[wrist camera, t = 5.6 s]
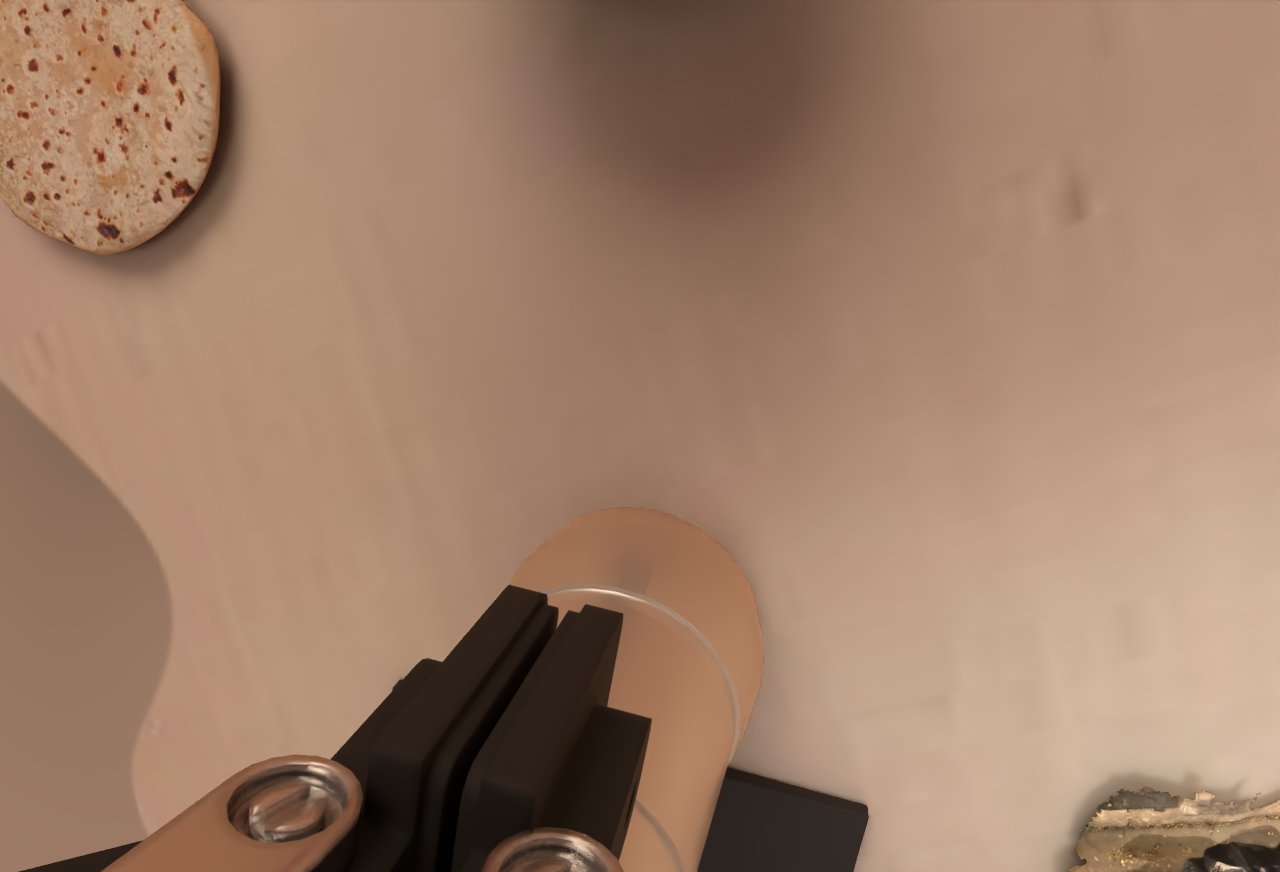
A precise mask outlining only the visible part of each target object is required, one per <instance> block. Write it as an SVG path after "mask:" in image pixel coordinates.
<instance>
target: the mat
mask: <svg viewBox="0 0 1280 872" xmlns="http://www.w3.org/2000/svg"><path fill="white" fill-rule="evenodd" d="M401 681H402V680H399V681H398V683H397V684H396V685H395V686H394V687H393V690H394V689H395V688H396V687H397V686H398V685H399V683H400V682H401ZM868 818H869V816H868V808H867V806H866V805H863V804H859V803H856V802H852V801H848V800H844V799H841V798H837V797H833V796H830V795H826V794H822V793H819V792H815V791H811V790H807V789H804V788H800V787H796V786H793V785H789V784H785V783H781V782H778V781H774V780H770V779H767V778H763V777H759V776H756V775H752V774H748V773H744V772H741V771H737V770H733V769H730V768H727V769H726V772H725V776H724V779H723V783H722V786H721V790H720V793H719V797H718V800H717V804H716V807H715V810H714V814H713V817H712V821H711V824H710V828H709V831H708V835H707V838H706V842H705V845H704V849H703V852H702V856H701V859H700V863H699V866H698V870H697V872H853V870H854V867H855V863H856V860H857V856H858V853H859V849H860V846H861V842H862V839H863V835H864V832H865V828H866V825H867V821H868Z"/></svg>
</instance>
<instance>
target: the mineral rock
mask: <svg viewBox="0 0 1280 872" xmlns="http://www.w3.org/2000/svg"><path fill="white" fill-rule="evenodd" d="M1201 791H1202V793H1195V792H1194V793H1195V794H1196V798H1195V800H1191V799H1186V798H1183V799H1181V797H1180V796H1177V797H1175V796H1174V797H1171V795H1170V794H1169V793H1168V792H1163V793H1160V791H1159V792H1157V793H1156V792H1155V791H1154V790H1153V789H1152V788H1149V787H1143V788H1142V789H1140V791H1139V792H1138V793H1136V794H1135V793H1134V792H1133V791H1132V792H1129V790H1125V791H1124V789H1120V791H1118V793H1119V795H1118V796H1116V798H1115V799H1114V798H1113V797H1112V796H1111V797H1110V799H1109V802H1104V803H1103V804H1101V805H1099V807H1097V810H1098V812H1095V813H1096V814H1097V816H1098V817H1092V819H1093V821H1092V822H1088V825H1085V826H1086V827H1087V828H1083V829H1084V830H1085V831H1082V833H1083V834H1082V833H1080V834H1081V839H1080V840H1077V841H1078V842H1079V844H1080V845H1079V846H1078V847H1077V848H1076V849H1075V850H1076V852H1077V854H1078V855H1079V856H1080V858H1081V859H1082V860H1083V859H1084V858H1085V859H1086V860H1087V861H1086V864H1085V865H1083V866H1080V867H1079V866H1078V865H1077V866H1075V867H1073V868H1069V869H1070V870H1071V871H1070V872H1280V799H1279V800H1278V801H1276V802H1274V803H1271V804H1269V805H1267V806H1265V805H1264V807H1263V808H1260V809H1259V808H1258V807H1257V808H1256V809H1254V810H1251V809H1250V808H1249V806H1248V805H1249V804H1251V802H1252V801H1253V800H1255V799H1257V797H1258V796H1259V795H1261V793H1258V794H1257V795H1256V796H1255V798H1253V799H1251V800H1245V802H1244V804H1243V805H1241V806H1239V805H1234V804H1233V803H1234V801H1235V800H1234V801H1232V802H1231V804H1230V805H1229V806H1226V805H1225V804H1224V803H1221V802H1215V803H1212V804H1211V802H1210V801H1211V799H1212V798H1214V797H1215V796H1214V795H1213V794H1211V793H1209V792H1206V791H1203V790H1201ZM1067 872H1069V871H1067Z"/></svg>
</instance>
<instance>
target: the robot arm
mask: <svg viewBox="0 0 1280 872" xmlns="http://www.w3.org/2000/svg"><path fill="white" fill-rule="evenodd" d="M558 615H559V609H558V607H555V606H551V605H548V596H547V594H545V593H541V592H537V591H533V590H529V589H525V588H521V587H517V586H513V585H508V586H507V587H506V588H505V589H504V590H503V592H502V593H501V594H500V595H499V596H498V597H497V599H496V600H495V601H494V602H493V603H492V605H491V606H490V607H489V608H488V609H487V610H486V612H485V613H484V614H483V615H482V616H481V617H480V619H479V620H478V621H477V622H476V623H475V625H474V626H473V627H472V628H471V629H470V630H469V632H468V633H467V634H466V635H465V636H464V637H463V639H462V640H461V641H460V642H459V643H458V644H457V646H456V647H455V648H454V649H453V650H452V652H451V653H450V654H449V655H448V656H447V657H446V659H445V660H444V661H443V662H440V661H436V660H432V659H429V658H428V659H423V660H421V661H420V662H419V663H418V664H417V665H416V666H415V667H414V668H413V669H412V670H411V671H410V672H409V674H408V675H407V676H406V677H405V678H404V679H403V680H402V681H401V682H400V683H399V685H398V686H397V687H396V688H395V689H394V690H393V691H392V692H391V693H390V695H389V696H388V697H387V698H386V699H385V700H384V701H383V702H382V703H381V704H380V706H379V707H378V708H377V709H376V710H375V711H374V712H373V713H372V714H371V715H370V717H369V718H368V719H367V720H366V721H365V722H364V723H363V724H362V725H361V726H360V728H359V729H358V730H357V731H356V732H355V733H354V734H353V735H352V736H351V738H350V739H349V740H348V741H347V742H346V743H345V744H344V745H343V746H342V747H341V749H340V750H339V751H338V752H337V753H336V754H335V755H334V756H333V757H332V758H331V760H329V759H326V758H322V757H319V756H307V755H290V756H283V757H275V758H271V759H268V760H265V761H262V762H259V763H256V764H252V765H250V766H249V767H247V768H245V769H243V770H242V771H240V772H238V773H236V774H234V775H233V776H231V777H230V778H229V779H227V780H226V781H224V782H223V783H222V784H220V785H219V786H218V787H216V788H215V789H213V790H212V791H211V792H209V793H208V794H207V795H205V796H204V797H203V798H201V799H200V800H198V801H197V802H196V803H194V804H193V805H192V806H190V807H189V808H187V809H186V810H185V811H183V812H182V813H181V814H179V815H178V816H176V817H175V818H174V819H172V820H171V821H170V822H168V823H167V824H165V825H164V826H163V827H161V828H160V829H159V830H157V831H156V832H154V833H153V834H152V835H150V836H149V837H148V838H146V839H145V840H143V841H139V842H135V843H131V844H127V845H123V846H119V847H115V848H111V849H107V850H104V851H99V852H96V853H91V854H87V855H84V856H79V857H75V858H72V859H67V860H63V861H59V862H55V863H52V864H48V865H43V866H40V867H36V868H32V869H28V870H24V871H20V872H624V871H623V869H622V867H621V865H620V863H619V859H620V856H621V852H622V849H623V845H624V842H625V838H626V835H627V831H628V828H629V824H630V820H631V816H632V812H633V808H634V804H635V800H636V796H637V792H638V787H639V783H640V778H641V774H642V769H643V764H644V760H645V755H646V750H647V745H648V740H649V735H650V730H651V724H652V718H648V717H644V716H641V715H637V714H633V713H629V712H626V711H622V710H618V709H615V708H611V707H607V705H608V699H609V694H610V689H611V683H612V678H613V673H614V668H615V662H616V657H617V652H618V646H619V641H620V636H621V631H622V625H623V613H620V612H616V611H612V610H608V609H604V608H600V607H596V606H592V605H588V604H585V605H584V607H583V608H582V610H581V612H580V613H578V612H574V611H570V610H568V612H567V613H566V614H565V616H564V618H563V619H562V621H561V622H560V624H559V626H558V627H557V622H558ZM556 628H557V629H556Z"/></svg>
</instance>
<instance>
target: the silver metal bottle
mask: <svg viewBox="0 0 1280 872" xmlns="http://www.w3.org/2000/svg"><path fill="white" fill-rule="evenodd" d="M509 585H513V586H517V587H521V588H525V589H529V590H533V591H537V592H541V593H545V594H547V596H548V605H551V606H555V607H558V609H559V615H558V622H557V627H558V626H559V624H560V622H561V621H562V619H563V618H564V616H565V614H566V613H567V612H568V610H570V611H574V612H578V613H580V612H581V610H582V608H583V607H584V605H585V604H588V605H592V606H596V607H600V608H604V609H608V610H612V611H616V612H620V613H623V625H622V631H621V636H620V641H619V646H618V652H617V657H616V662H615V668H614V673H613V678H612V683H611V689H610V694H609V699H608V705H607V707H611V708H615V709H618V710H622V711H626V712H629V713H633V714H637V715H641V716H644V717H648V718H652V724H651V730H650V735H649V740H648V745H647V750H646V755H645V760H644V764H643V769H642V774H641V778H640V783H639V787H638V792H637V796H636V800H635V804H634V808H633V812H632V816H631V820H630V824H629V828H628V831H627V835H626V838H625V842H624V845H623V849H622V852H621V856H620V859H619V863H620V865H621V867H622V869H623V871H624V872H697V870H698V866H699V863H700V859H701V856H702V852H703V849H704V845H705V842H706V838H707V835H708V831H709V828H710V824H711V821H712V817H713V814H714V810H715V807H716V804H717V800H718V797H719V793H720V790H721V786H722V783H723V779H724V776H725V772H726V769H727V766H728V765H729V763H730V761H731V760H732V758H733V756H734V754H735V752H736V750H737V748H738V746H739V744H740V742H741V740H742V738H743V736H744V733H745V730H746V727H747V724H748V721H749V718H750V716H751V713H752V710H753V707H754V704H755V701H756V698H757V695H758V691H759V688H760V685H761V682H762V674H763V658H764V656H763V647H762V639H761V631H760V623H759V617H758V611H757V605H756V601H755V598H754V596H753V593H752V590H751V588H750V585H749V583H748V580H747V579H746V577H745V576H744V574H743V573H742V571H741V569H740V568H739V566H738V565H737V563H736V562H735V560H734V559H733V558H732V557H731V556H730V555H729V554H728V553H727V552H726V551H725V550H724V549H723V547H722V546H721V545H720V544H719V543H718V542H716V541H715V540H714V539H712V538H711V537H710V536H708V535H707V534H706V533H704V532H703V531H702V530H700V529H699V528H697V527H695V526H693V525H691V524H689V523H687V522H685V521H683V520H681V519H679V518H677V517H675V516H671V515H668V514H665V513H661V512H658V511H654V510H649V509H640V508H631V507H625V508H613V509H604V510H600V511H597V512H593V513H590V514H587V515H583V516H582V517H580V518H578V519H576V520H574V521H572V522H571V523H569V524H567V525H565V526H564V527H563V528H561V529H560V530H559V531H558V532H557V533H555V534H554V535H553V536H552V537H550V538H549V539H548V540H547V541H546V542H544V543H543V544H542V545H541V546H540V547H539V548H537V549H536V550H535V551H534V552H533V553H532V554H531V555H530V556H528V557H527V558H526V559H525V560H524V562H523V563H522V565H521V566H520V567H519V569H518V570H517V572H516V573H515V575H514V576H513V578H512V580H511V582H510V584H509ZM556 629H557V628H556Z"/></svg>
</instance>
